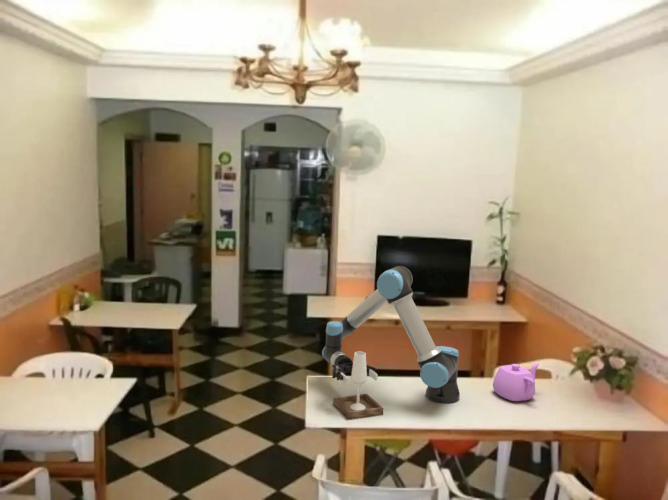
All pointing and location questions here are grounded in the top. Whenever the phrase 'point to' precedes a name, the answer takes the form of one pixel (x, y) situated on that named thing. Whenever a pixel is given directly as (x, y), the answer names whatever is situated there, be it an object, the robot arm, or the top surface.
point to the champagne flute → (359, 376)
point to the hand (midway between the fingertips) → (362, 379)
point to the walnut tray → (369, 411)
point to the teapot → (515, 382)
